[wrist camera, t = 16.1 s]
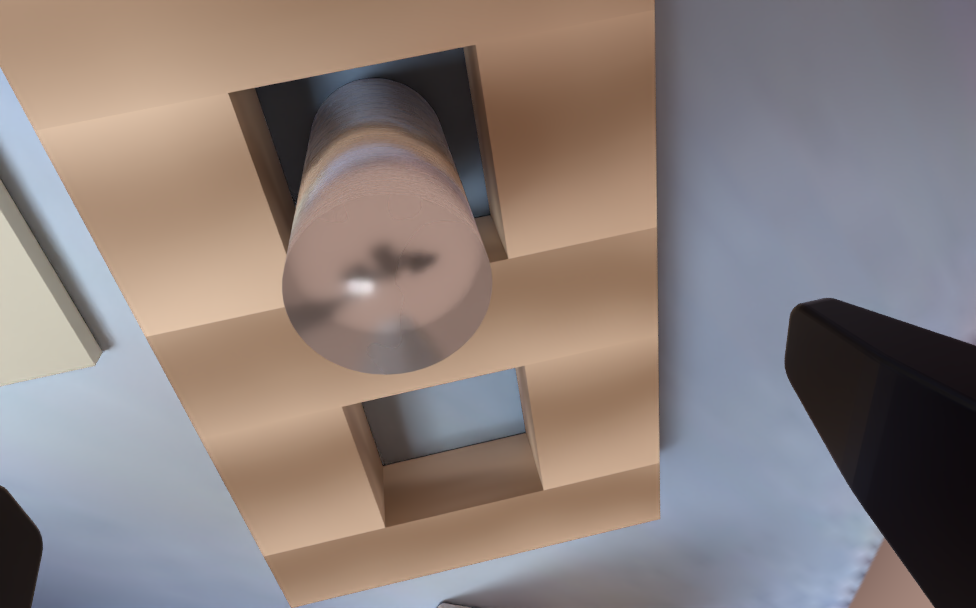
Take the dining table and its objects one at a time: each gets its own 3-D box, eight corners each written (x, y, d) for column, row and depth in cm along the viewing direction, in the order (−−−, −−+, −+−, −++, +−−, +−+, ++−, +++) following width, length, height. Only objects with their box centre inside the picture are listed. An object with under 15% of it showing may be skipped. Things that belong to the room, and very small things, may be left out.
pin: (454, 193, 17) (505, 350, 11) (331, 218, 17) (317, 392, 11) (429, 66, 15) (475, 174, 9) (292, 92, 15) (251, 220, 9)
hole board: (632, 463, 23) (660, 519, 21) (297, 542, 23) (291, 608, 21) (607, -143, 14) (652, -149, 12) (18, -36, 13) (-48, -23, 11)
